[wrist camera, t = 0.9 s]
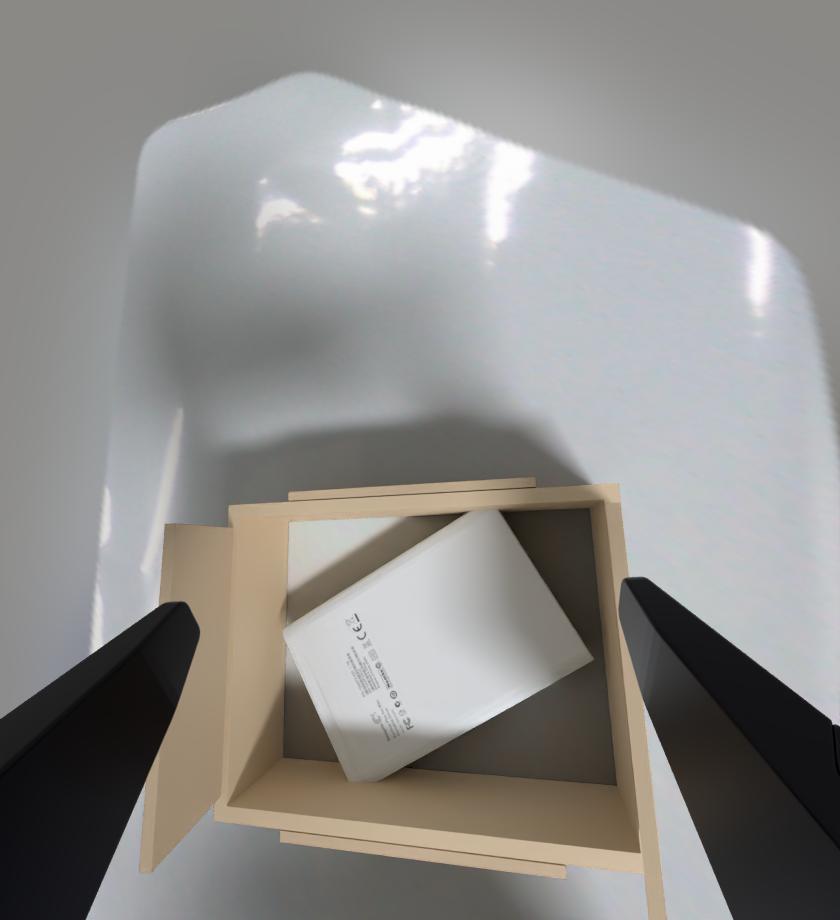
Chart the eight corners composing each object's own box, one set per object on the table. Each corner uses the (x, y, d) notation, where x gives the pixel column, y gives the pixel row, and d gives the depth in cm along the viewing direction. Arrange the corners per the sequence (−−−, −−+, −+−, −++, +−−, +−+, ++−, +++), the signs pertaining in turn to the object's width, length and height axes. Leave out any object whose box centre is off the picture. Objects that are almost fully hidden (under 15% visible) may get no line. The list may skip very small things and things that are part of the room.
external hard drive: (591, 652, 21) (365, 780, 22) (493, 499, 23) (293, 624, 24) (596, 661, 19) (353, 798, 20) (490, 496, 21) (277, 629, 23)
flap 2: (609, 511, 17) (620, 511, 17) (644, 842, 15) (657, 845, 15) (605, 503, 13) (620, 502, 13) (652, 952, 11) (671, 957, 11)
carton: (634, 814, 19) (664, 892, 15) (271, 779, 23) (212, 833, 19) (600, 485, 22) (617, 471, 18) (279, 503, 26) (229, 495, 22)
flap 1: (221, 795, 19) (211, 796, 19) (233, 528, 21) (224, 528, 21) (151, 873, 14) (138, 872, 14) (175, 523, 16) (165, 523, 17)
